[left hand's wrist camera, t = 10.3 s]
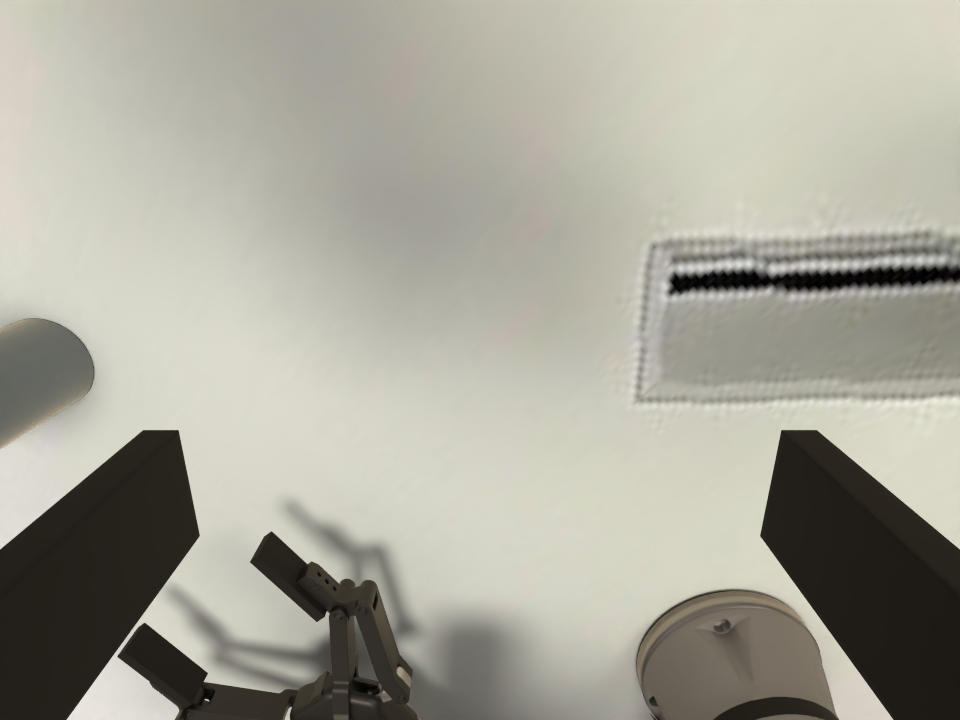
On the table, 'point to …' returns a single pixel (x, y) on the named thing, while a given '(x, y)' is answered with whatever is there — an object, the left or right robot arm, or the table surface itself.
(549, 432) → the table surface
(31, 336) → the bottle
